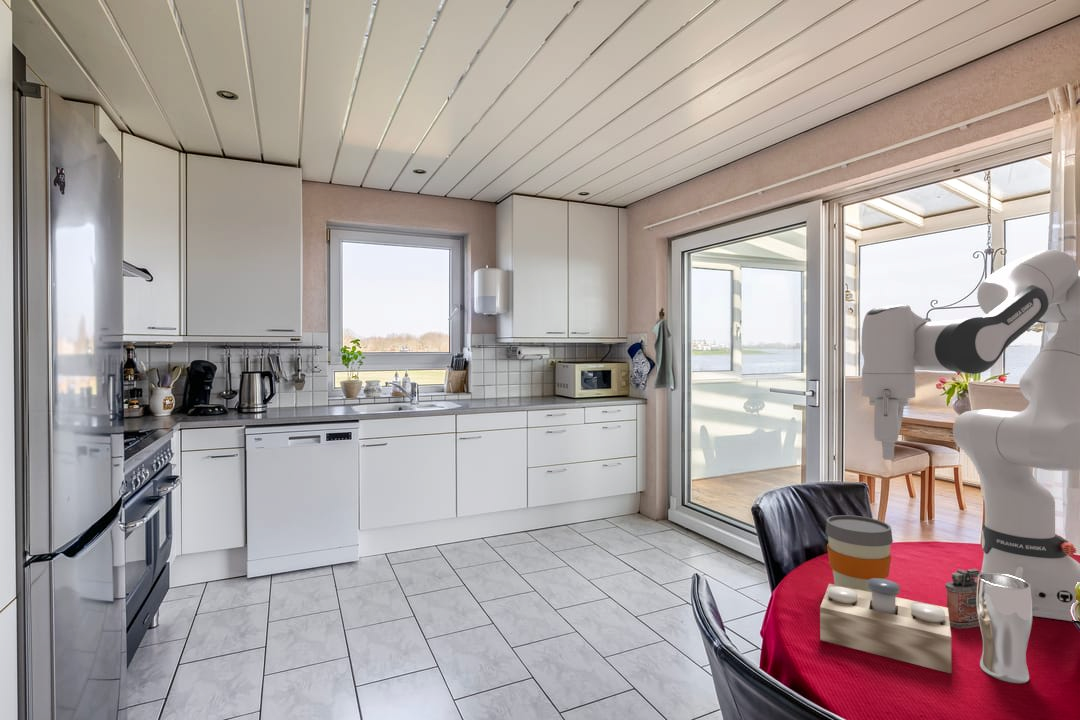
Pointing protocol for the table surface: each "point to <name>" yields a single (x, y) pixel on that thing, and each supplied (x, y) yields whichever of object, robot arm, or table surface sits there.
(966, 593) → the lighter
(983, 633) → the beer glass
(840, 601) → the plunger far
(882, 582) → the plunger middle
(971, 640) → the table surface
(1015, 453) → the robot arm
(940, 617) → the plunger near
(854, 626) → the wooden peg holder
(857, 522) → the reusable coffee cup
